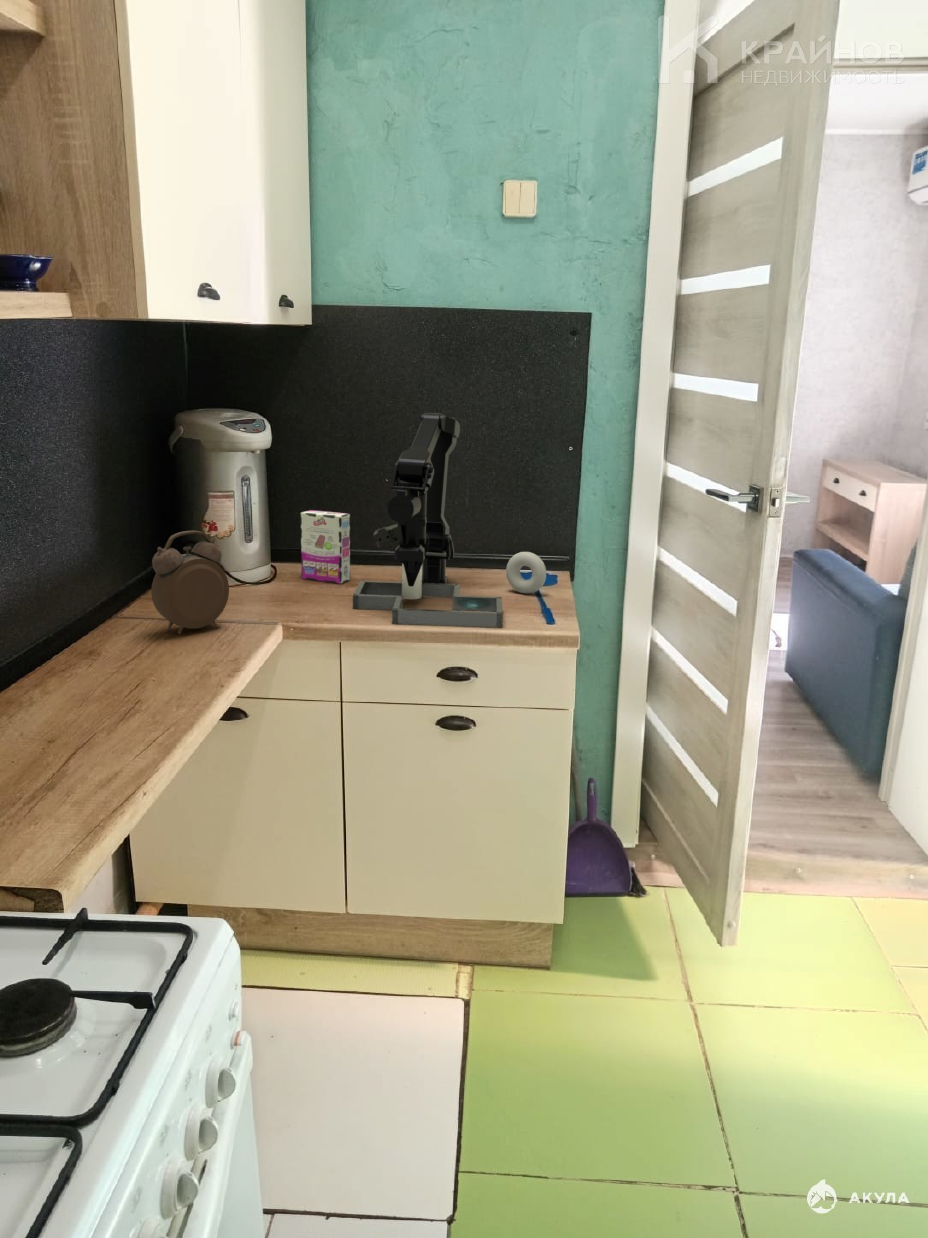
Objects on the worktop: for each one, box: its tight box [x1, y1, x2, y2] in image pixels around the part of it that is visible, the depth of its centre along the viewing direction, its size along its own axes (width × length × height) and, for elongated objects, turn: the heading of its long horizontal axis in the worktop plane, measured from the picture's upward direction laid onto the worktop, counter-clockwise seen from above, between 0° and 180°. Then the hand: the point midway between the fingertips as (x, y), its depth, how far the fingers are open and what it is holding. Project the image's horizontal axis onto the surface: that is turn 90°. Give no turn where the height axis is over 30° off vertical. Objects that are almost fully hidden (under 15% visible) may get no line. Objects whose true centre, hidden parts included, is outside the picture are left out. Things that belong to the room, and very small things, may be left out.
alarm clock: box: [150, 530, 230, 635], centre depth 193 cm, size 14×7×20 cm, turn 135°
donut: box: [505, 551, 547, 594], centre depth 230 cm, size 10×4×10 cm, turn 64°
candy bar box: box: [300, 509, 351, 585], centre depth 236 cm, size 11×5×16 cm, turn 68°
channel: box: [352, 580, 504, 629], centre depth 215 cm, size 23×32×3 cm
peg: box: [401, 563, 422, 600], centre depth 219 cm, size 4×4×9 cm
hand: (411, 583), depth 219 cm, fingers closed on peg, 4 cm apart
